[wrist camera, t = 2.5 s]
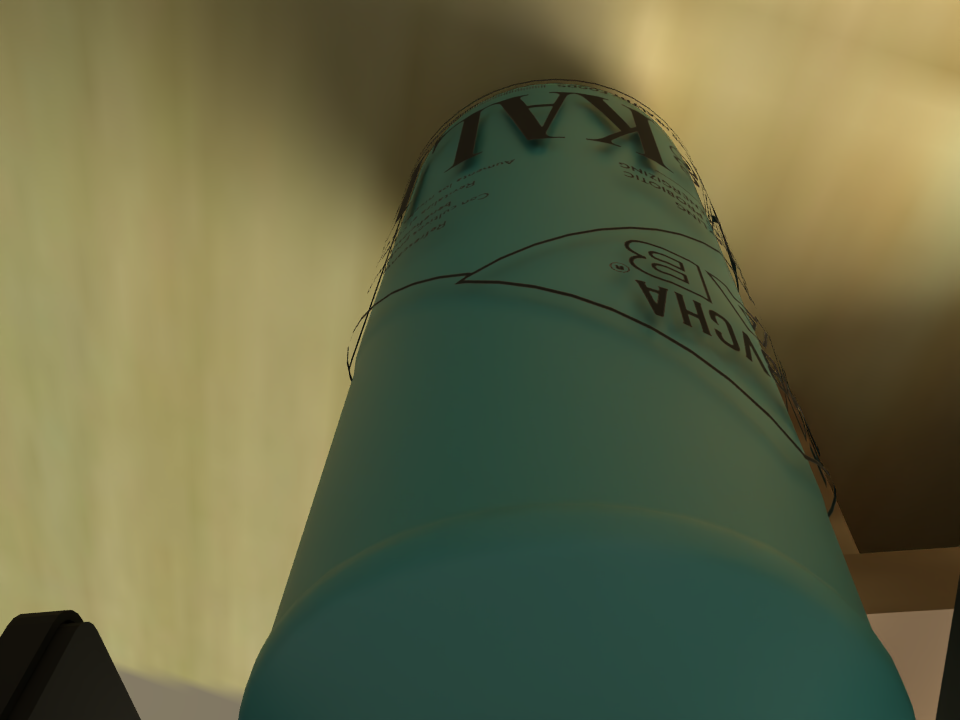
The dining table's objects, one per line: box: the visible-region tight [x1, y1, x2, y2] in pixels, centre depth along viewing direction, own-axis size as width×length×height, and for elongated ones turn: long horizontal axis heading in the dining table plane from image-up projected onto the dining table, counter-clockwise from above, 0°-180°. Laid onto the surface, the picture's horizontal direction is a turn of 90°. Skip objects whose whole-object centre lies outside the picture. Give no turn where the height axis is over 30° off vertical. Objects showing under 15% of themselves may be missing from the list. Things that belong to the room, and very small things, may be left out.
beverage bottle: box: [238, 79, 916, 720], centre depth 13 cm, size 6×7×20 cm
